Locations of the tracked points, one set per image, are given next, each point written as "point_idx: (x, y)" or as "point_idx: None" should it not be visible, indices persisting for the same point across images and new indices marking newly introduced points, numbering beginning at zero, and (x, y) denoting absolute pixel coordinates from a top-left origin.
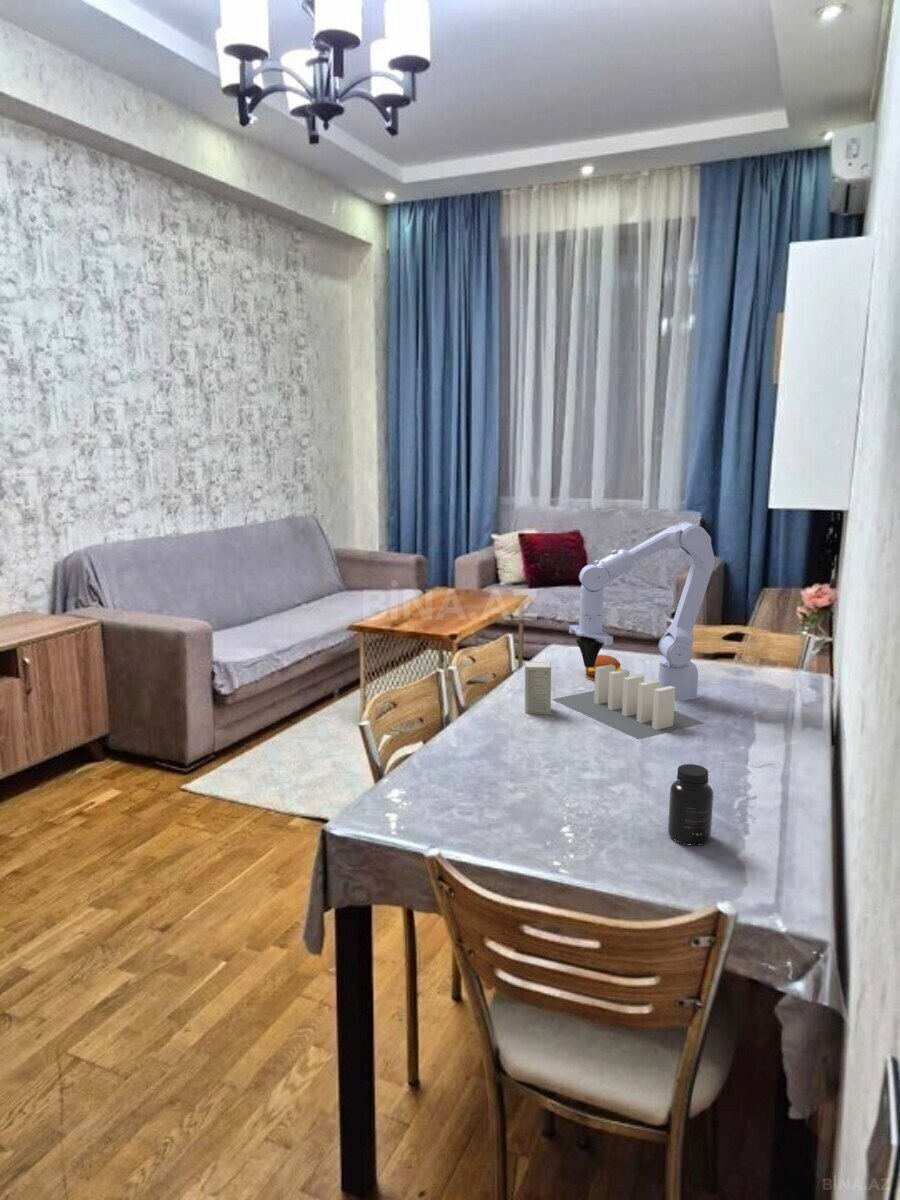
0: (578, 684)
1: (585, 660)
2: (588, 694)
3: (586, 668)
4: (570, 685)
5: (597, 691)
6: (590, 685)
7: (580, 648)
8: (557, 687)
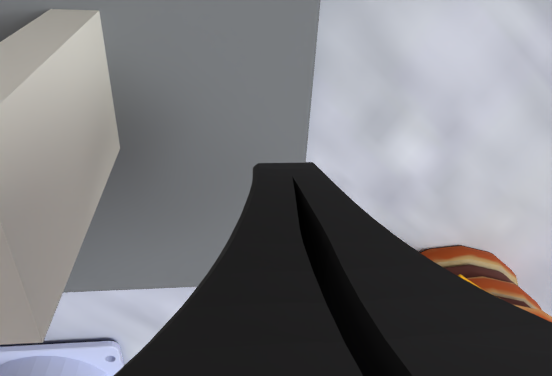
0: (467, 180)
1: (293, 194)
2: (268, 93)
3: (518, 296)
4: (491, 133)
5: (28, 34)
6: (410, 219)
7: (446, 284)
8: (531, 38)
